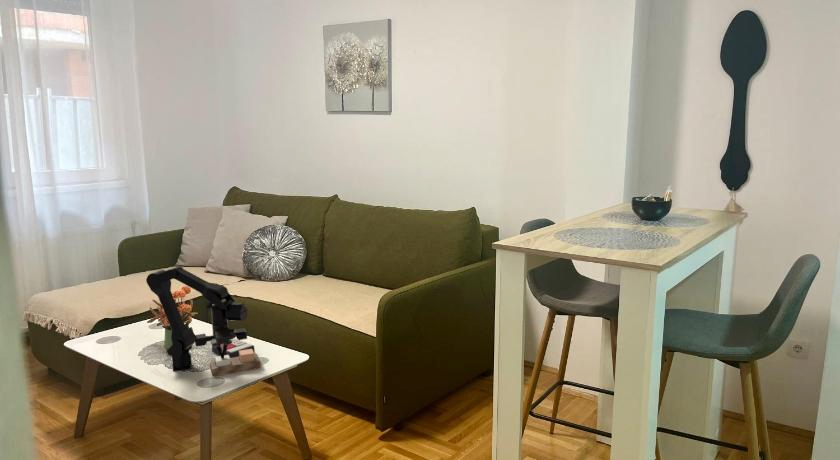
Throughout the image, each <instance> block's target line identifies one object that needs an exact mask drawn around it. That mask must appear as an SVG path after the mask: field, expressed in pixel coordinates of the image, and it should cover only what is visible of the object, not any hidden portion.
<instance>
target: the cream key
mask: <svg viewBox="0 0 840 460" xmlns="http://www.w3.org/2000/svg"><path fill="white" fill-rule="evenodd" d="M214 361H215V364H216V367H219V366H225V365H231V364H230V358H229V355H224V358H222V359H221V356H219V355H217V356H214Z"/></svg>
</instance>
